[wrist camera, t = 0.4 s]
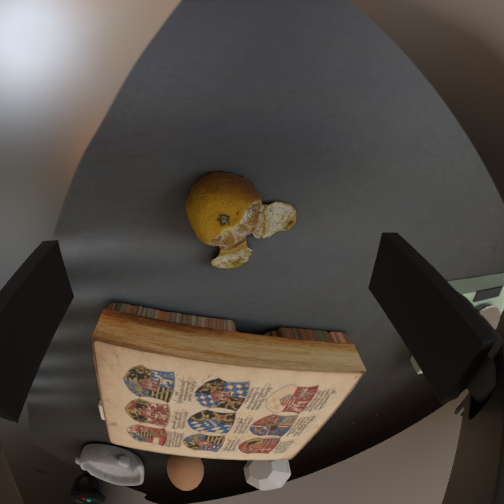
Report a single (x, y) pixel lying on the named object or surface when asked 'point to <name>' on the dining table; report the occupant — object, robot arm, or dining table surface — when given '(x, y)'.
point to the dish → (112, 464)
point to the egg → (185, 471)
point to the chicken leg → (267, 473)
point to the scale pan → (490, 314)
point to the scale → (478, 294)
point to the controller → (86, 490)
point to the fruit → (233, 216)
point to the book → (217, 384)
